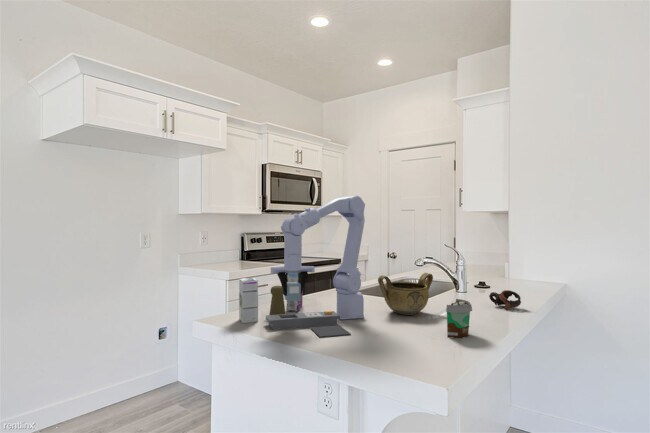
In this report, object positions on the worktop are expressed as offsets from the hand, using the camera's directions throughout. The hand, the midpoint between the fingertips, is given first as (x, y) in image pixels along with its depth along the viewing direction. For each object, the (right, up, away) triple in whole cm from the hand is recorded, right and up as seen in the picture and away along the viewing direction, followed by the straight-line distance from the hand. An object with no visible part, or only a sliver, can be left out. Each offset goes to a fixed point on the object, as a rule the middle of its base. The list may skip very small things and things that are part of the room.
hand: (292, 294), depth 130 cm
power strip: (+3, -10, +2) cm, 11 cm away
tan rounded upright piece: (-7, -11, +14) cm, 18 cm away
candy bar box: (-1, -11, +26) cm, 28 cm away
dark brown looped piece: (+85, -12, +31) cm, 91 cm away
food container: (+53, -11, -9) cm, 55 cm away
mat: (+12, -10, -7) cm, 17 cm away
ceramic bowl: (+42, -11, +20) cm, 47 cm away
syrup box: (-16, -11, +6) cm, 20 cm away
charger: (0, -2, 0) cm, 2 cm away
